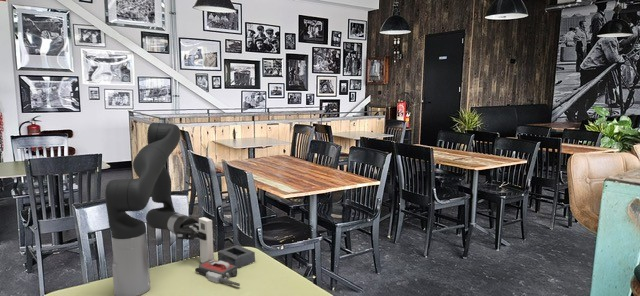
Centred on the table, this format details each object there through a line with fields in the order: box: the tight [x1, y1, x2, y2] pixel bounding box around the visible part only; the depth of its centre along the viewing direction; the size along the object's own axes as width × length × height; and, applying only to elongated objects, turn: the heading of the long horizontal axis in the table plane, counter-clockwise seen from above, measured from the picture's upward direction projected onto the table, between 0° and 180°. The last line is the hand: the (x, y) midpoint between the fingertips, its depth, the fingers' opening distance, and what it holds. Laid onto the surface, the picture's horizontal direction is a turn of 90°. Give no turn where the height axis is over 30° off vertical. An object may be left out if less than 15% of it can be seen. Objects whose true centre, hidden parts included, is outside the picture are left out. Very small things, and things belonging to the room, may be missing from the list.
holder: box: [217, 244, 256, 270], centre depth 148 cm, size 10×8×4 cm
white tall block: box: [198, 216, 215, 263], centre depth 145 cm, size 5×2×15 cm, turn 46°
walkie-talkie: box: [195, 259, 241, 287], centre depth 136 cm, size 9×4×20 cm
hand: (209, 236), depth 143 cm, fingers closed on white tall block, 1 cm apart
